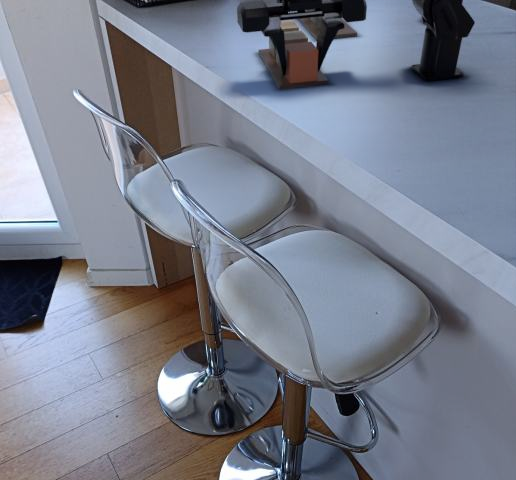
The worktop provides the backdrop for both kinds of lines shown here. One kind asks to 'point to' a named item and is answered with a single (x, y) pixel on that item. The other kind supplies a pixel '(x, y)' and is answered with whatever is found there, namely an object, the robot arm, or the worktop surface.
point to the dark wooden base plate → (313, 29)
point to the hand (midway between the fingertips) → (300, 72)
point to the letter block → (301, 62)
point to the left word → (272, 61)
